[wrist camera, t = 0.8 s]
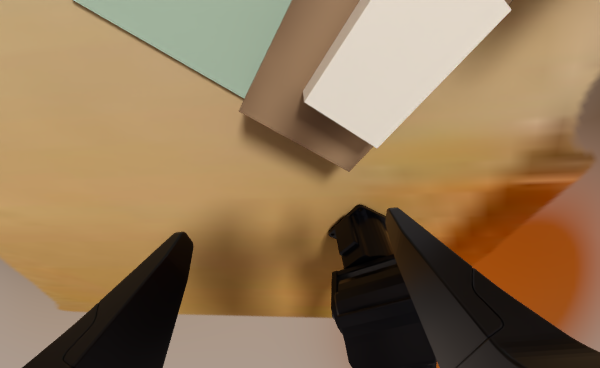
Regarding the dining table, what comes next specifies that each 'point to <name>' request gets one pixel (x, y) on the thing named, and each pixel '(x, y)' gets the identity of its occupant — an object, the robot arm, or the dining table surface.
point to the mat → (202, 32)
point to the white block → (395, 59)
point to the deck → (303, 81)
